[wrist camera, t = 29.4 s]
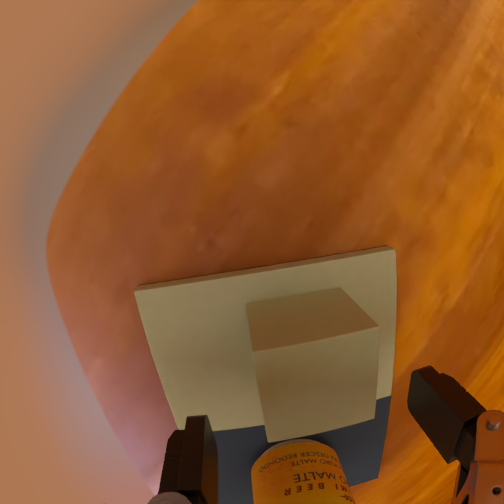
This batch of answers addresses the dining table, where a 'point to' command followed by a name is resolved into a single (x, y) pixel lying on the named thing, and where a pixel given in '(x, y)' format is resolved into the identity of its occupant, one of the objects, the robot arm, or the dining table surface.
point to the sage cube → (313, 362)
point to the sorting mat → (241, 363)
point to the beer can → (299, 475)
